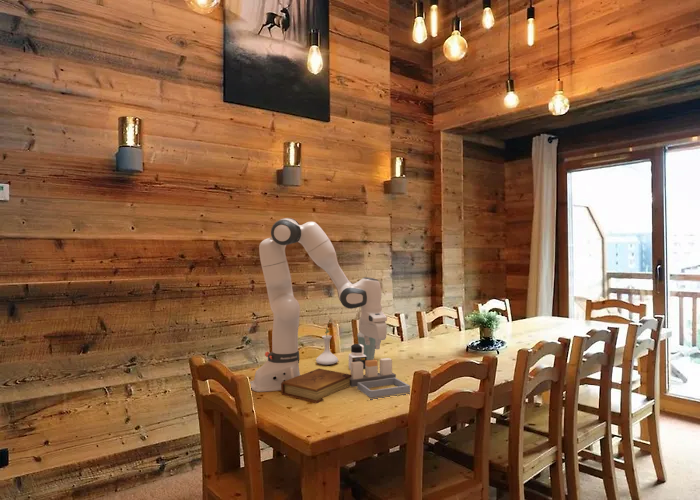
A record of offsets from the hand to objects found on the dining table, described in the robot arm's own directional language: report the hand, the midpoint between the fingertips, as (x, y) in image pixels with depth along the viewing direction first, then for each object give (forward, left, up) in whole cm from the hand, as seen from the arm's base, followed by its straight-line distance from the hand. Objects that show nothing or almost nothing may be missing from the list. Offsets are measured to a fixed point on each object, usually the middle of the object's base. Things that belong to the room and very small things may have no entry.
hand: (372, 346), depth 210 cm
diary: (-25, +1, -17) cm, 30 cm away
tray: (-1, -13, -16) cm, 21 cm away
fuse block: (0, 0, -16) cm, 16 cm away
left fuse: (-7, 0, -15) cm, 17 cm away
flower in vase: (-5, +41, -16) cm, 44 cm away
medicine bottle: (+4, +24, -16) cm, 29 cm away
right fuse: (+7, 0, -15) cm, 16 cm away
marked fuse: (0, 0, -15) cm, 15 cm away
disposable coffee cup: (+16, +38, -16) cm, 44 cm away
